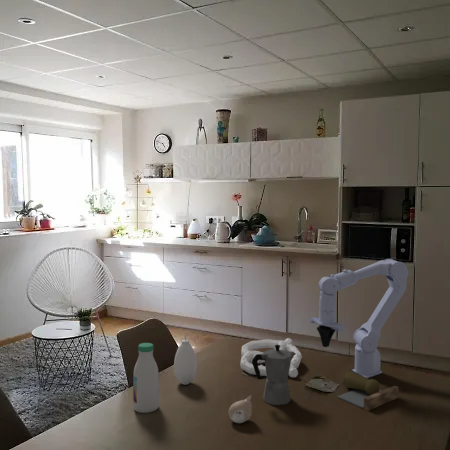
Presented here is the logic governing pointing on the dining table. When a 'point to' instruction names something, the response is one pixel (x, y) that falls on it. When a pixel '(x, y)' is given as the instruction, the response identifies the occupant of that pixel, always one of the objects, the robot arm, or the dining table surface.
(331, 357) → the dining table surface
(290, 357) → the coffeepot
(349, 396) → the mat
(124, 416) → the dining table surface
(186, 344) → the sauce bottle
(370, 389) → the cork
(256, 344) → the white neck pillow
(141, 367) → the milk bottle
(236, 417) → the garlic bulb
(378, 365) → the robot arm
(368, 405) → the stop rail
